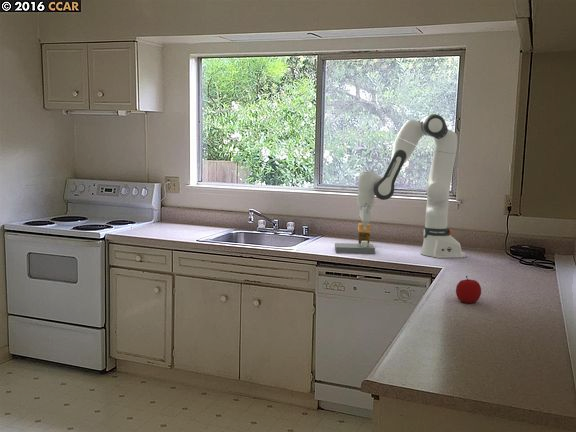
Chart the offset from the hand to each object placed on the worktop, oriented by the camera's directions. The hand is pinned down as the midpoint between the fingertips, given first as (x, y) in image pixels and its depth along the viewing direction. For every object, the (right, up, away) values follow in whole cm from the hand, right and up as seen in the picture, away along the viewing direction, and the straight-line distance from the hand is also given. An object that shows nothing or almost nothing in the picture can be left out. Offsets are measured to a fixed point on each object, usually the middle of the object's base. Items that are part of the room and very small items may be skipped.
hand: (363, 228), depth 321 cm
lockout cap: (0, -2, 0) cm, 2 cm away
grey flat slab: (-5, -12, +2) cm, 13 cm away
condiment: (+2, -10, +20) cm, 23 cm away
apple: (+28, -26, -90) cm, 98 cm away
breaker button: (0, -12, +2) cm, 12 cm away
